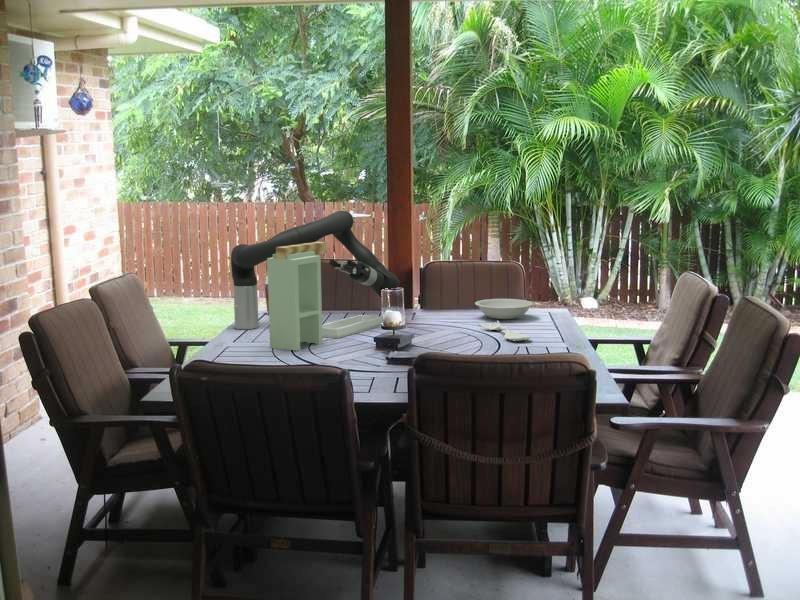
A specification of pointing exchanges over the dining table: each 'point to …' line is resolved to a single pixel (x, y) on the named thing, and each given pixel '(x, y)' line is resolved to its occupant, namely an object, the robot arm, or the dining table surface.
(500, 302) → the soup bowl
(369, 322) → the tray
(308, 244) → the tan wooden bar
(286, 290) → the stand
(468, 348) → the dining table surface
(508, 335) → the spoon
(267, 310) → the smoothie
